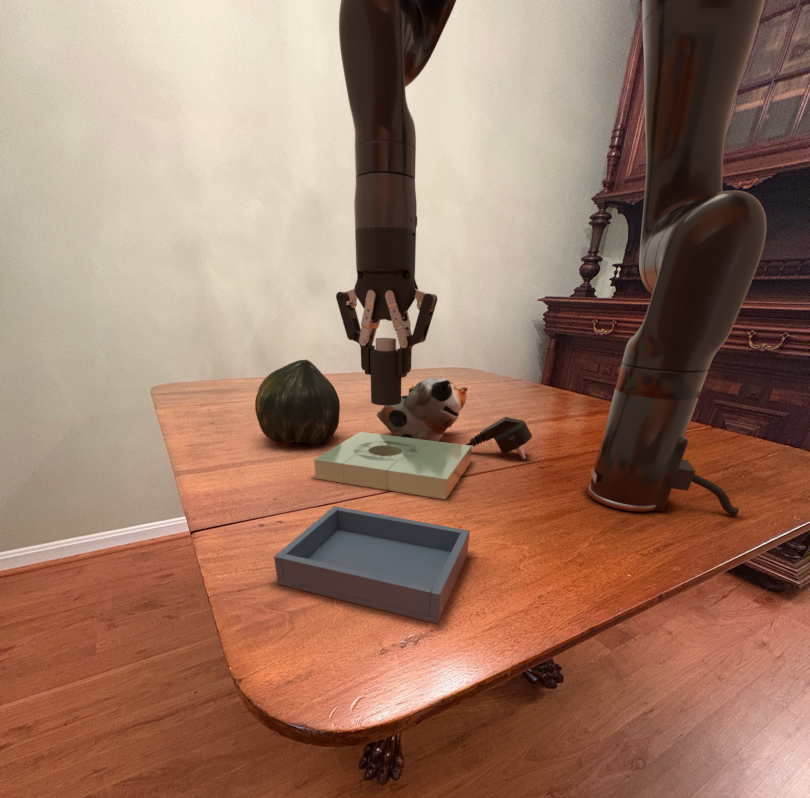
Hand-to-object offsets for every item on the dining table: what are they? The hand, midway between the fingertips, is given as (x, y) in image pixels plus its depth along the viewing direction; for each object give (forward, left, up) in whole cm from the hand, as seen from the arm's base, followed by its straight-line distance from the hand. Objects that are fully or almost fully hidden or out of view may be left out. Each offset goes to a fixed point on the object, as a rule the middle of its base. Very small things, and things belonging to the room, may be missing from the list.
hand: (386, 374), depth 60 cm
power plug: (-15, -14, -14) cm, 25 cm away
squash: (+20, -8, -14) cm, 26 cm away
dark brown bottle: (0, 0, -4) cm, 4 cm away
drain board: (-2, 0, -14) cm, 14 cm away
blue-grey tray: (-10, +27, -14) cm, 32 cm away
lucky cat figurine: (0, -19, -14) cm, 24 cm away
